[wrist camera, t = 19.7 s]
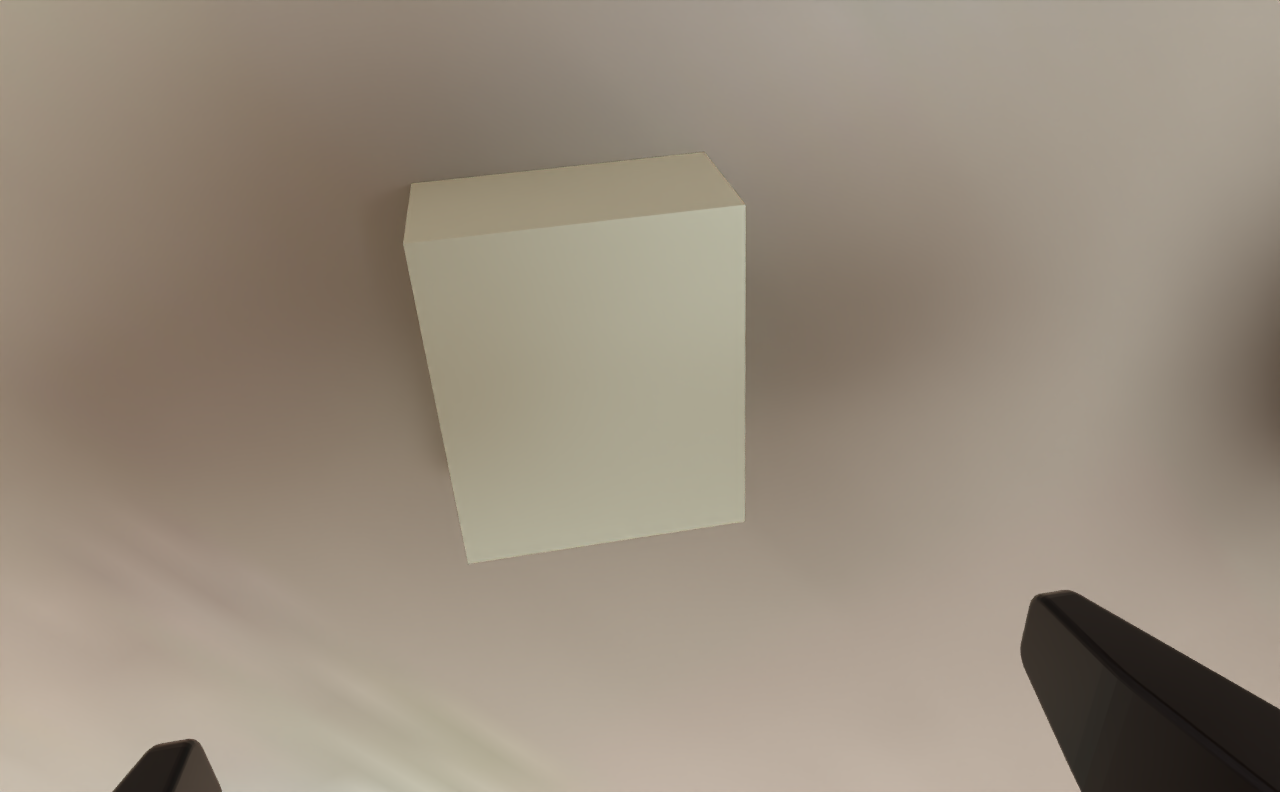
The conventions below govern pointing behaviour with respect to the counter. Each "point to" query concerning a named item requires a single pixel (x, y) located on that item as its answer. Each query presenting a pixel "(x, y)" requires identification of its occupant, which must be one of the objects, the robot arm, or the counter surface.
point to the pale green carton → (585, 349)
